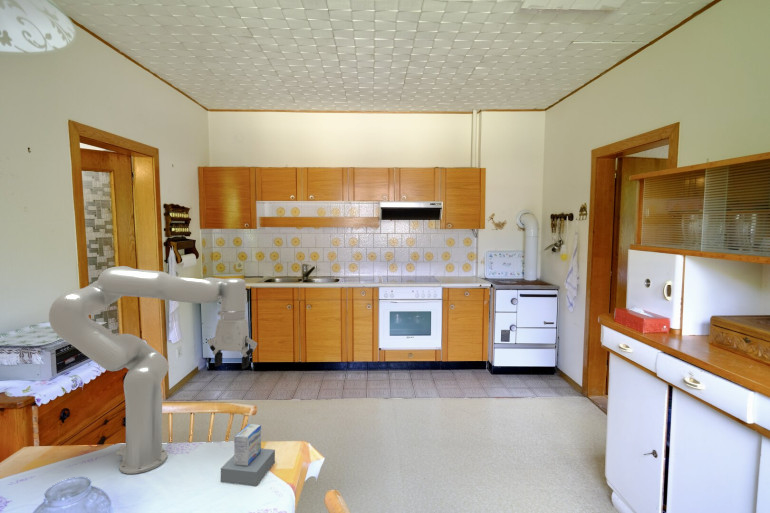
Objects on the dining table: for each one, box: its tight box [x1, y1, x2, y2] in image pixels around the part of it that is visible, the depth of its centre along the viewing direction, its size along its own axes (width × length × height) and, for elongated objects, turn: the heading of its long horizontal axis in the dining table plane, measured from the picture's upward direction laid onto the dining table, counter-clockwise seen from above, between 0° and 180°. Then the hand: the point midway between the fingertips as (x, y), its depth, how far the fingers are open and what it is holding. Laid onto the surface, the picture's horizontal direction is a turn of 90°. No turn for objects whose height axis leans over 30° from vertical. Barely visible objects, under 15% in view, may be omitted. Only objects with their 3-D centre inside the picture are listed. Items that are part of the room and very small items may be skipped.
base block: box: [220, 447, 276, 487], centre depth 111 cm, size 11×12×4 cm
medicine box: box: [233, 423, 262, 466], centre depth 111 cm, size 8×4×9 cm, turn 170°
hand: (231, 366), depth 123 cm, fingers open, 9 cm apart
